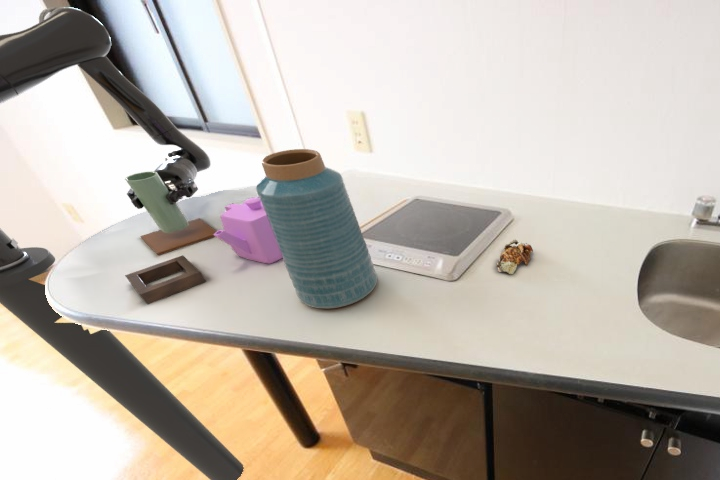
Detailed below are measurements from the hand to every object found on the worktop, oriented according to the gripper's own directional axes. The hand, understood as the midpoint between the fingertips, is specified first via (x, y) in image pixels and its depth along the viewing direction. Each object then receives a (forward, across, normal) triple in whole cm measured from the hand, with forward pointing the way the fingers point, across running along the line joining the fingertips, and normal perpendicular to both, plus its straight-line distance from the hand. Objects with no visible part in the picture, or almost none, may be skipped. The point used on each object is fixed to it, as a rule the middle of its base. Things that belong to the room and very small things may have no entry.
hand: (153, 202), depth 87 cm
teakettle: (+14, +24, +10) cm, 30 cm away
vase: (+38, +39, +10) cm, 55 cm away
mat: (-2, 0, +10) cm, 10 cm away
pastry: (+40, +79, +10) cm, 89 cm away
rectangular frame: (+22, +4, +10) cm, 25 cm away
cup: (-2, 0, +8) cm, 8 cm away
